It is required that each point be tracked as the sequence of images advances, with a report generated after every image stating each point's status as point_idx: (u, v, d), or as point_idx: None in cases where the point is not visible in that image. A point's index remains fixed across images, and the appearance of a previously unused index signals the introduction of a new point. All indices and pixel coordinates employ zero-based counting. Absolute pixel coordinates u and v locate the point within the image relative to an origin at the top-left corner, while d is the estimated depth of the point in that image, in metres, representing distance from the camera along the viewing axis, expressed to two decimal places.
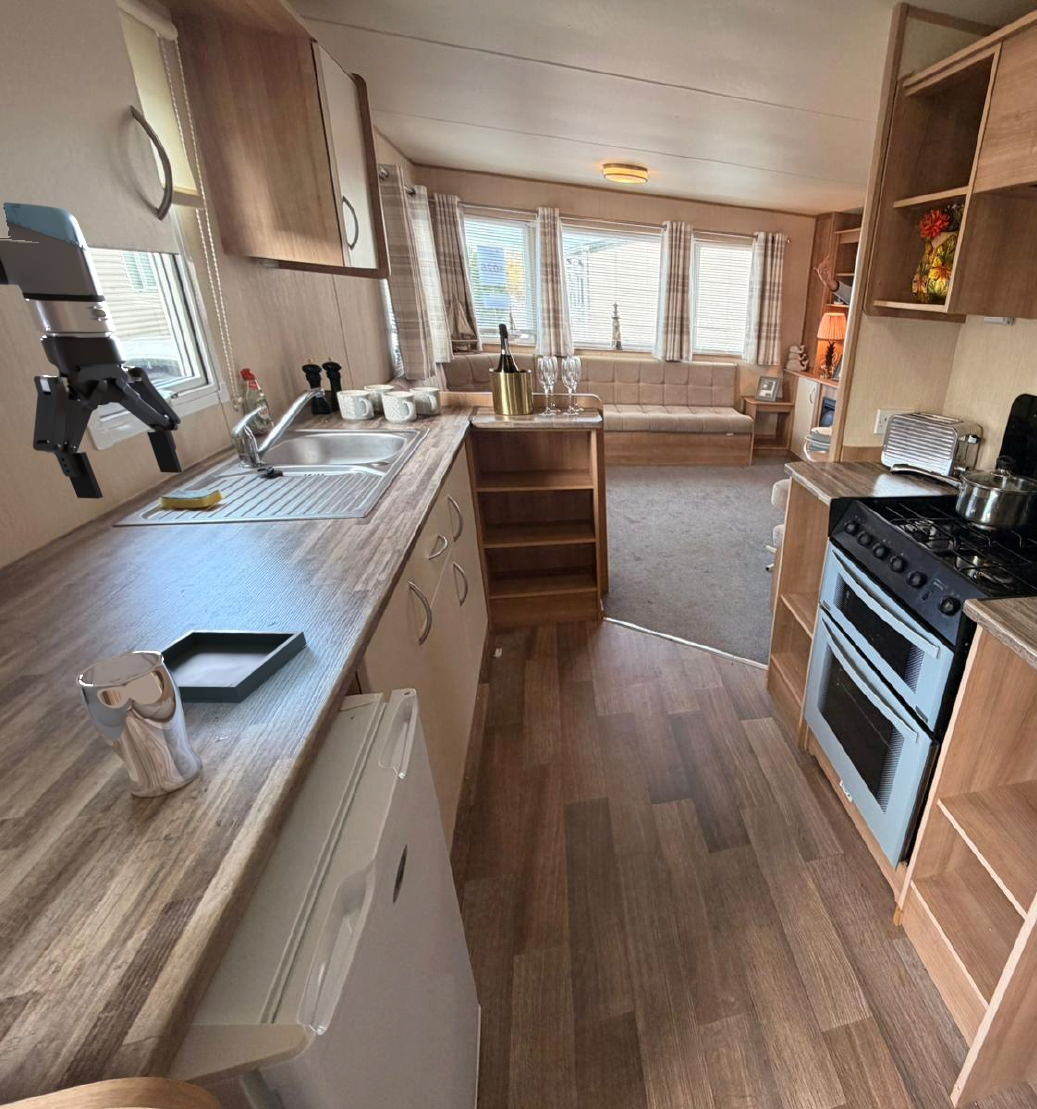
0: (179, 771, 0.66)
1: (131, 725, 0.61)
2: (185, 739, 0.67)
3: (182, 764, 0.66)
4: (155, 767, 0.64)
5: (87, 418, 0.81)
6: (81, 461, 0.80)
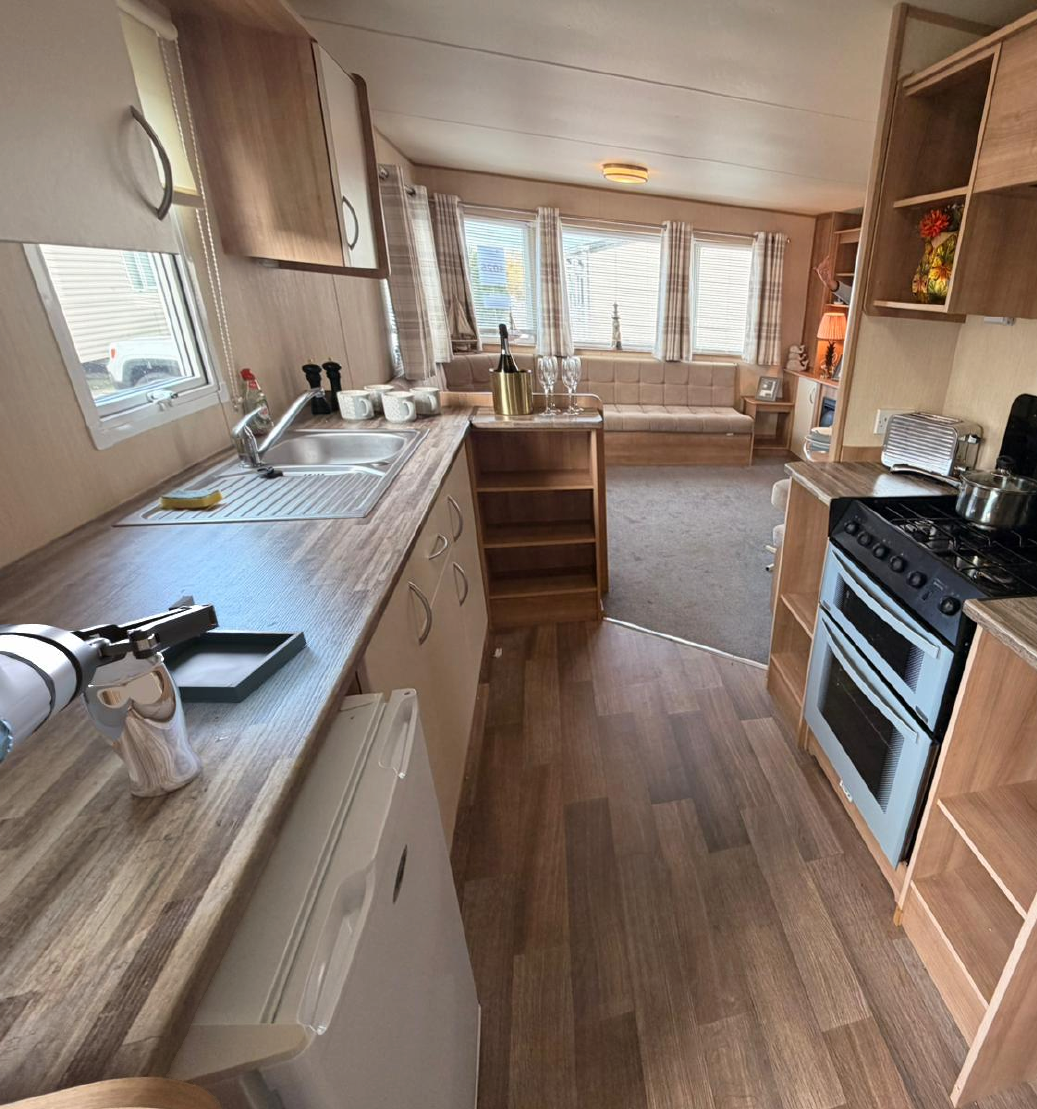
0: (179, 771, 0.66)
1: (131, 725, 0.61)
2: (185, 739, 0.67)
3: (182, 764, 0.66)
4: (155, 767, 0.64)
5: None
6: None
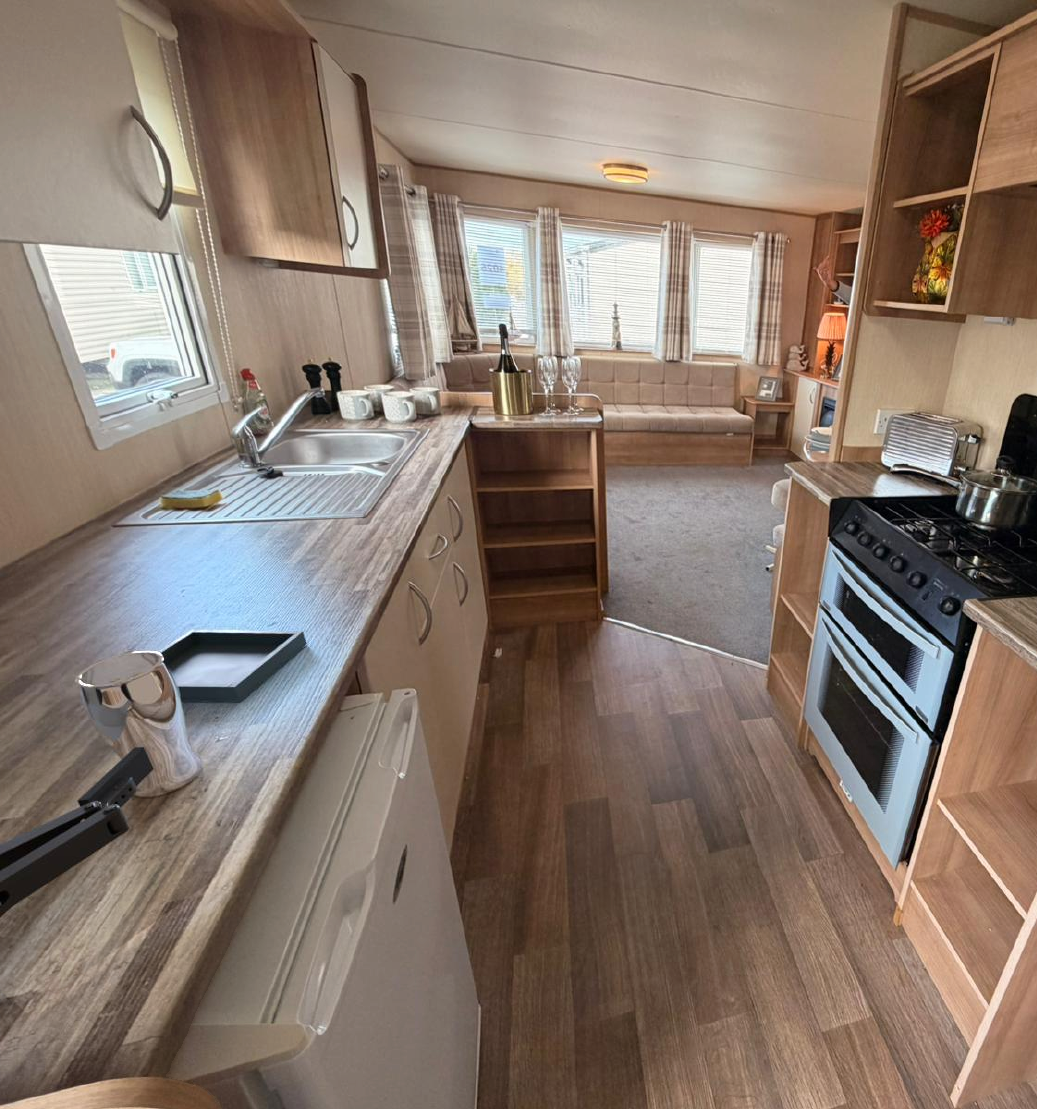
0: (179, 771, 0.66)
1: (131, 725, 0.61)
2: (185, 739, 0.67)
3: (182, 764, 0.66)
4: (155, 767, 0.64)
5: None
6: None
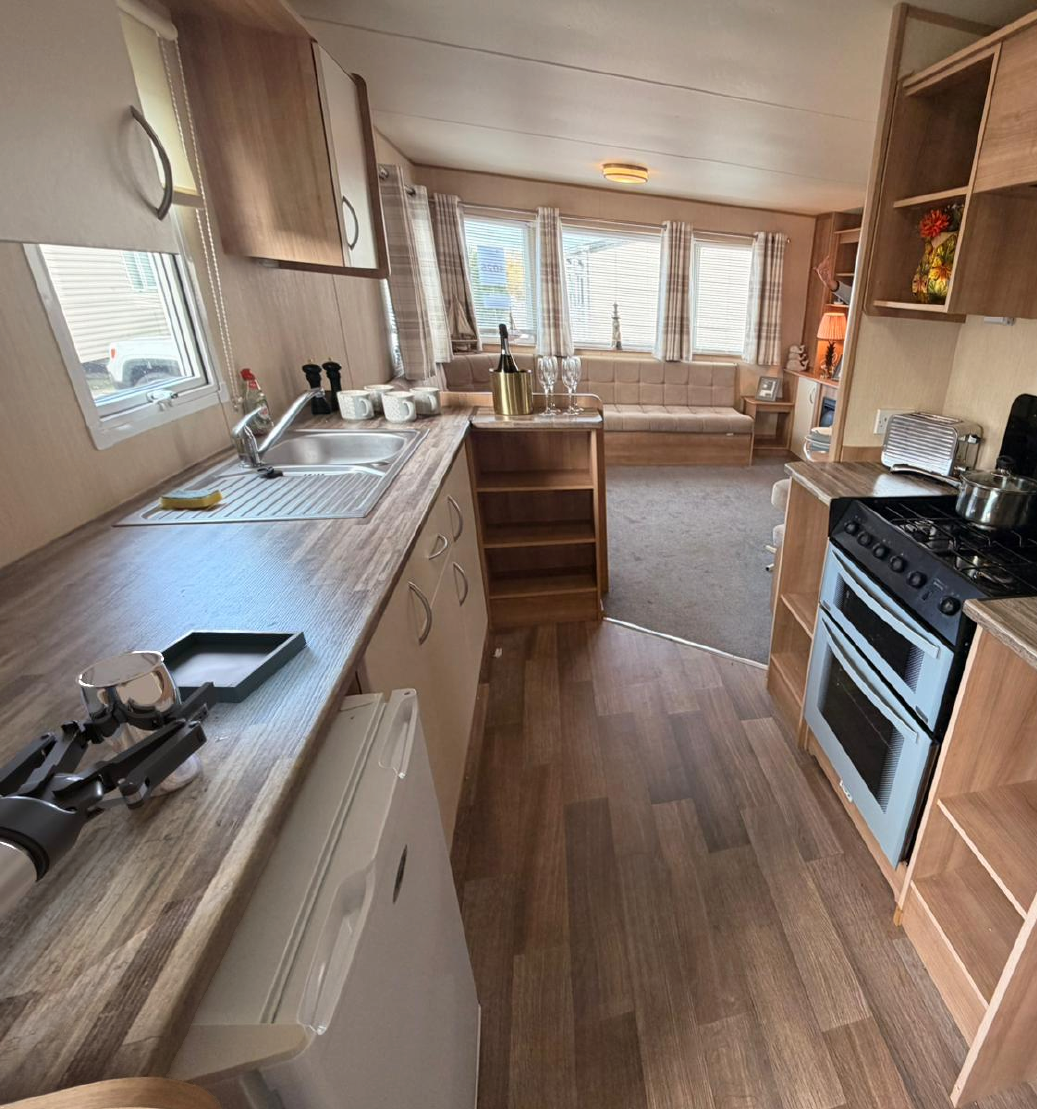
0: (179, 771, 0.66)
1: (131, 725, 0.61)
2: None
3: (182, 764, 0.66)
4: None
5: None
6: None
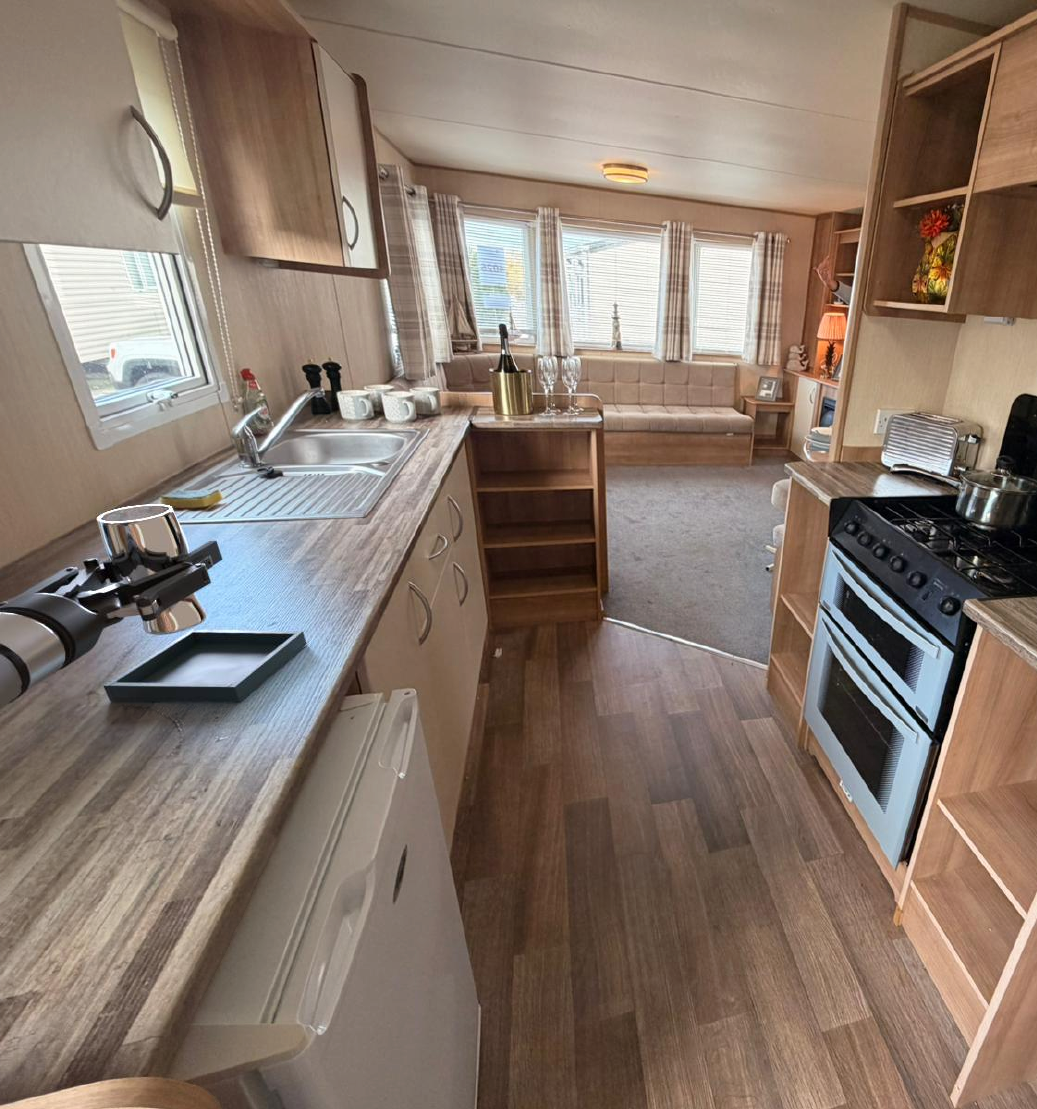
0: (186, 614, 0.74)
1: (144, 562, 0.69)
2: None
3: (189, 608, 0.74)
4: None
5: None
6: None
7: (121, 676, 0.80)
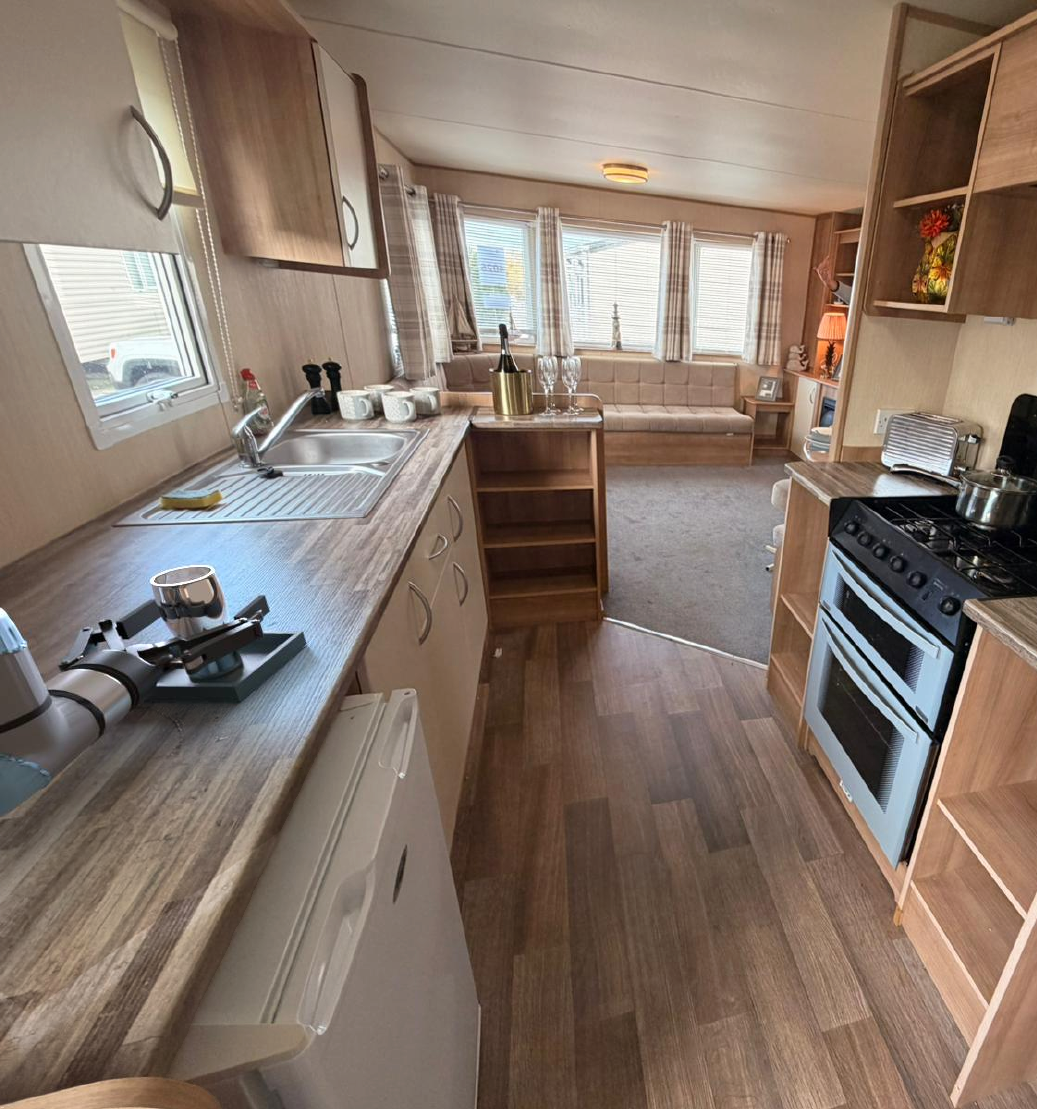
0: (225, 661, 0.84)
1: (191, 618, 0.79)
2: None
3: (227, 656, 0.84)
4: None
5: None
6: None
7: None
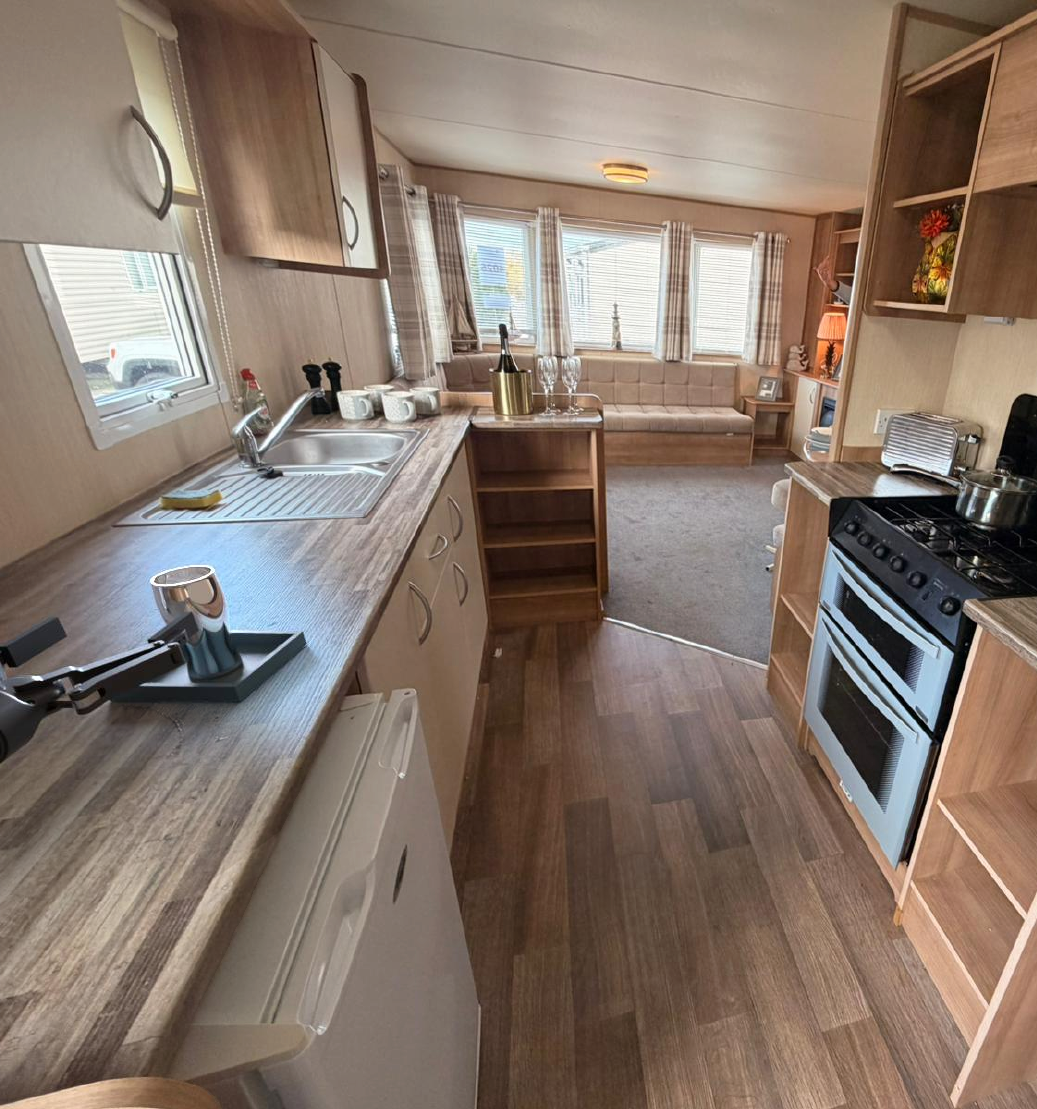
0: (225, 661, 0.84)
1: None
2: (229, 636, 0.85)
3: (227, 656, 0.84)
4: (208, 655, 0.83)
5: None
6: None
7: None
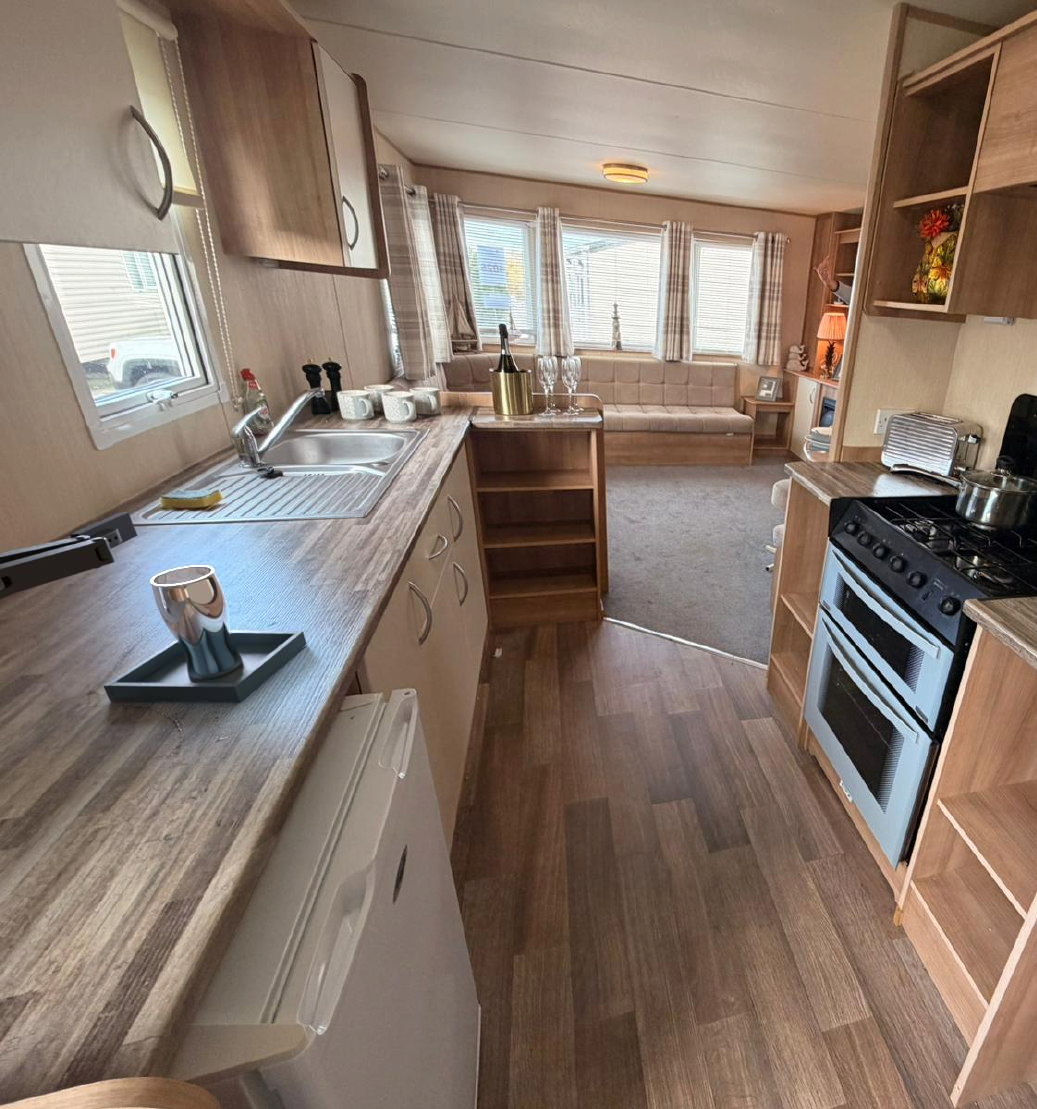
0: (225, 661, 0.84)
1: (191, 618, 0.79)
2: (229, 636, 0.85)
3: (227, 656, 0.84)
4: (208, 655, 0.82)
5: None
6: None
7: (121, 676, 0.80)
